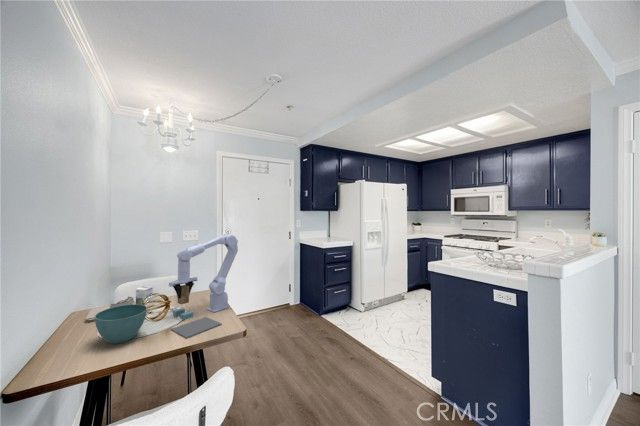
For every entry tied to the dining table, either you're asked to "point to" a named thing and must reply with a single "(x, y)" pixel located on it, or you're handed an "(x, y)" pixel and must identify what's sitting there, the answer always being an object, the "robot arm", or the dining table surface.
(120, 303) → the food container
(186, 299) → the walnut block
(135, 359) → the dining table surface
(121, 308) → the teal bowl
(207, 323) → the rubber mat
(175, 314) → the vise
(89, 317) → the washcloth
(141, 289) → the syrup box
